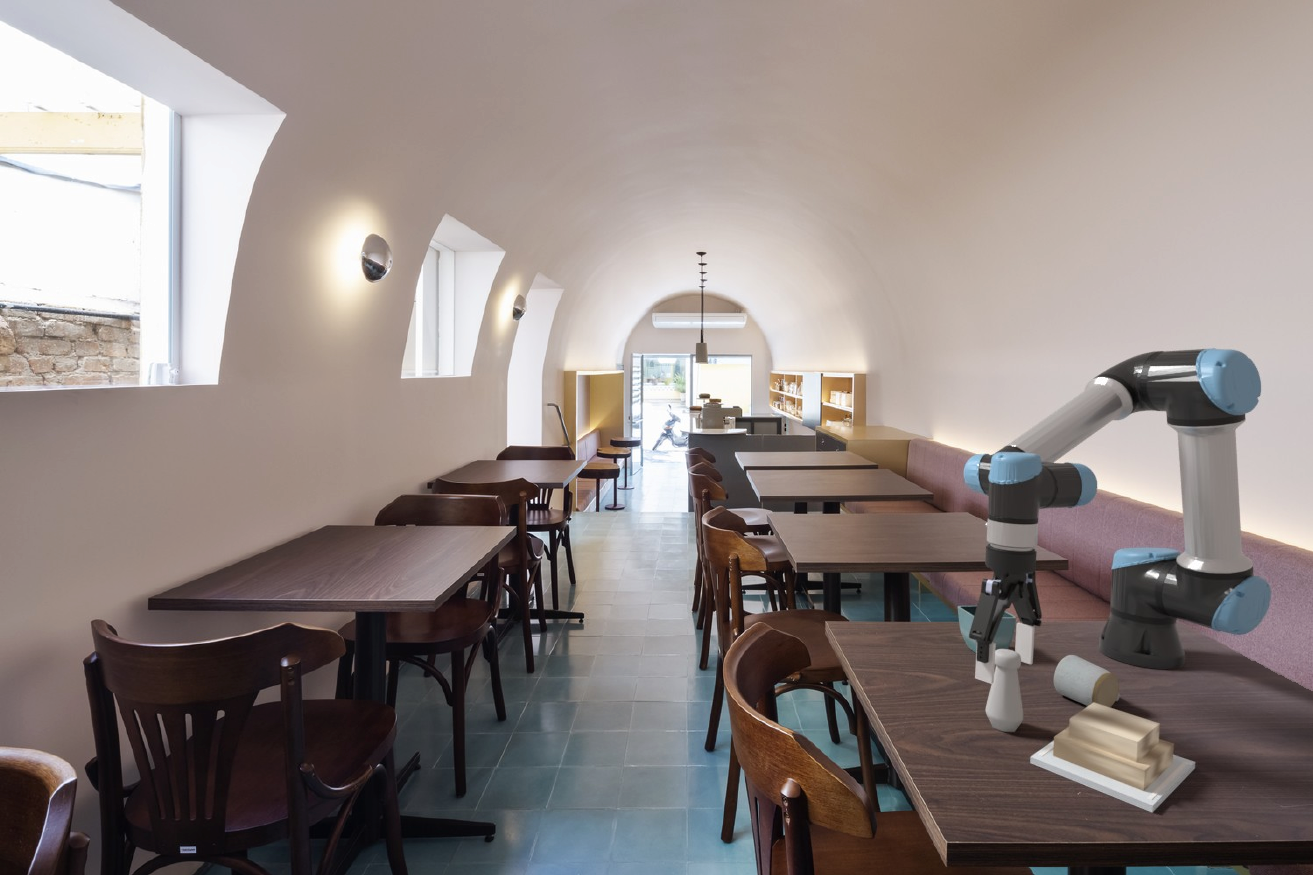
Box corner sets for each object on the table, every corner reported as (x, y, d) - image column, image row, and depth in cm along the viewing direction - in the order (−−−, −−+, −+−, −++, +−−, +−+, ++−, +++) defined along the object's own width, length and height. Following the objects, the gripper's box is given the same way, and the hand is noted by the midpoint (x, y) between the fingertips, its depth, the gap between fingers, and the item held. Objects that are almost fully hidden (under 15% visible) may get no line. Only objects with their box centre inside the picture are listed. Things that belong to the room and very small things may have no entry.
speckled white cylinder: (1094, 716, 124) (1097, 673, 124) (1051, 697, 132) (1053, 656, 131) (1132, 705, 129) (1135, 664, 128) (1088, 688, 136) (1091, 648, 135)
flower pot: (955, 644, 158) (956, 605, 157) (993, 644, 158) (995, 604, 158) (975, 660, 149) (976, 618, 148) (1015, 659, 150) (1017, 617, 149)
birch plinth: (1085, 732, 116) (1087, 696, 116) (1172, 762, 107) (1175, 724, 106) (1053, 755, 109) (1054, 717, 108) (1143, 791, 100) (1146, 749, 99)
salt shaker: (987, 731, 118) (990, 655, 117) (982, 716, 124) (985, 643, 123) (1026, 736, 117) (1029, 659, 116) (1019, 721, 122) (1022, 647, 121)
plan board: (1079, 727, 120) (1079, 721, 120) (1194, 768, 107) (1195, 761, 107) (1030, 762, 109) (1030, 756, 109) (1152, 812, 96) (1152, 804, 96)
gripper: (1023, 533, 129) (1017, 648, 130) (949, 551, 113) (943, 681, 115) (1067, 540, 123) (1060, 660, 124) (996, 560, 107) (989, 697, 109)
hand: (1004, 670), depth 120 cm, fingers open, 13 cm apart
